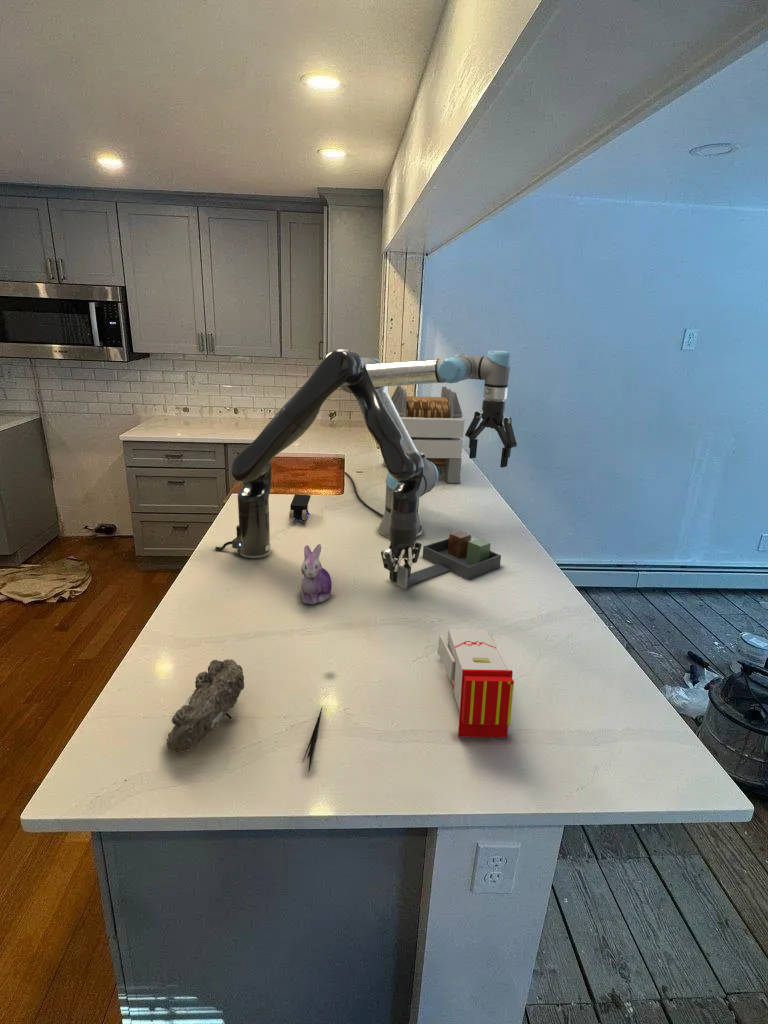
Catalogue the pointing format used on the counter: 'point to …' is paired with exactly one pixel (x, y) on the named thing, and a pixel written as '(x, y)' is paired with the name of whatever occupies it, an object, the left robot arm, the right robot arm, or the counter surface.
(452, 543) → the walnut block
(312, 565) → the figurine
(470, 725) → the toy
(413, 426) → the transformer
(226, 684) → the fossil
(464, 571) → the tray
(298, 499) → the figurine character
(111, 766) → the counter surface
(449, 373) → the right robot arm
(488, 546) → the sage block
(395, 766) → the counter surface
